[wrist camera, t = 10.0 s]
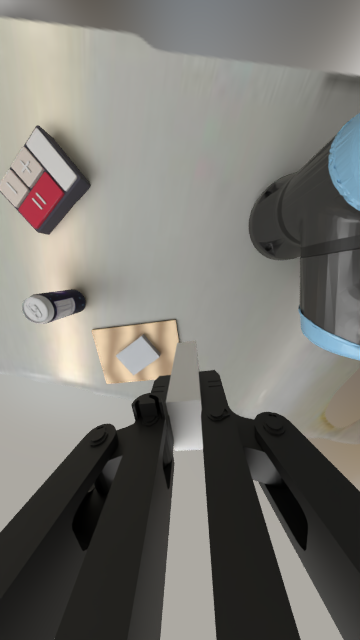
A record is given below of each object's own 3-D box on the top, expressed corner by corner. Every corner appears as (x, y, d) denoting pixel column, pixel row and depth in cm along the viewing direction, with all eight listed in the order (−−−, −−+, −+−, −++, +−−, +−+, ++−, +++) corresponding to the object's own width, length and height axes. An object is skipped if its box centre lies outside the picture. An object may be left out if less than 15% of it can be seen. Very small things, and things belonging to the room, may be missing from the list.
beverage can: (80, 285, 42) (37, 289, 30) (91, 306, 43) (55, 318, 31) (61, 294, 43) (13, 302, 31) (73, 314, 44) (31, 329, 32)
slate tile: (141, 336, 42) (115, 356, 43) (159, 357, 43) (133, 375, 45) (143, 333, 43) (118, 352, 45) (160, 353, 45) (135, 371, 46)
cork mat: (175, 319, 42) (175, 320, 42) (184, 375, 47) (184, 376, 46) (92, 329, 45) (91, 330, 44) (107, 382, 49) (106, 383, 48)
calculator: (-8, 186, 34) (33, 119, 30) (14, 195, 38) (52, 137, 34) (34, 232, 36) (78, 175, 32) (51, 236, 40) (92, 185, 36)
